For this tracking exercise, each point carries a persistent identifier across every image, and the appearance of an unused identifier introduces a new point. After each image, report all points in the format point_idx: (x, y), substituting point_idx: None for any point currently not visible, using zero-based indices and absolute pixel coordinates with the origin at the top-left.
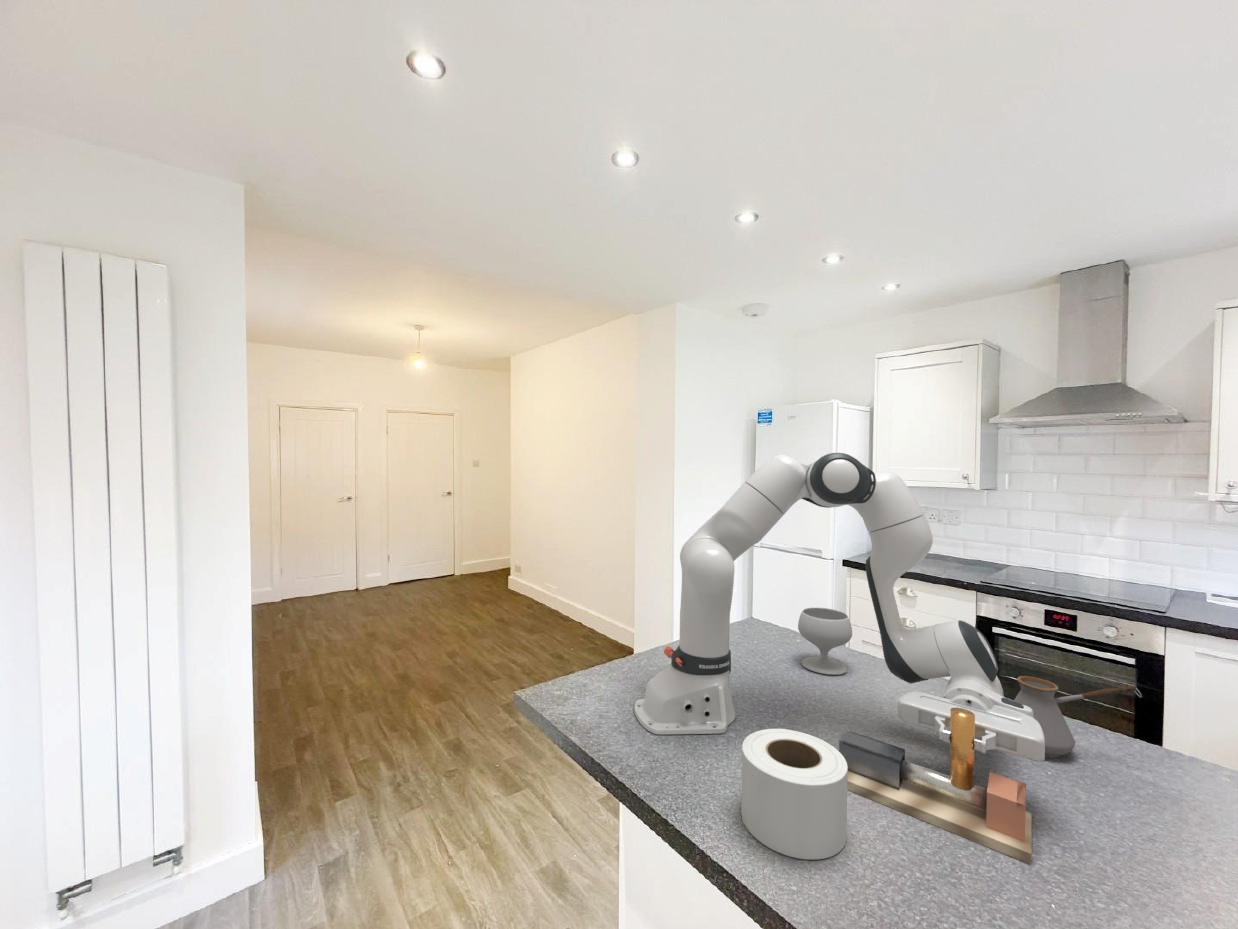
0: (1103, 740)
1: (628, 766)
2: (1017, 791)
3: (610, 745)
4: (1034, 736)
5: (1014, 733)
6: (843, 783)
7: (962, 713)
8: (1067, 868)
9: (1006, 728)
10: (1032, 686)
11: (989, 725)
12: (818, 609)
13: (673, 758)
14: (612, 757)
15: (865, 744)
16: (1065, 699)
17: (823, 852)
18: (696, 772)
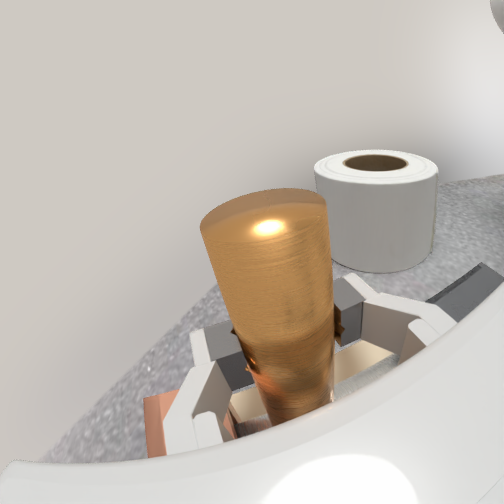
0: None
1: (455, 187)
2: (163, 444)
3: (480, 186)
4: (10, 474)
5: (73, 464)
6: (320, 182)
7: (256, 205)
8: (136, 456)
9: (102, 488)
10: None
11: (194, 457)
12: None
13: (473, 205)
14: (465, 184)
15: (473, 292)
16: None
17: None
18: (455, 210)
